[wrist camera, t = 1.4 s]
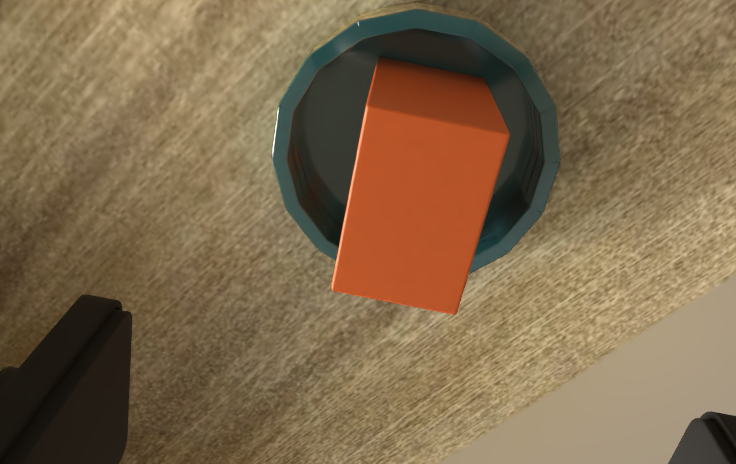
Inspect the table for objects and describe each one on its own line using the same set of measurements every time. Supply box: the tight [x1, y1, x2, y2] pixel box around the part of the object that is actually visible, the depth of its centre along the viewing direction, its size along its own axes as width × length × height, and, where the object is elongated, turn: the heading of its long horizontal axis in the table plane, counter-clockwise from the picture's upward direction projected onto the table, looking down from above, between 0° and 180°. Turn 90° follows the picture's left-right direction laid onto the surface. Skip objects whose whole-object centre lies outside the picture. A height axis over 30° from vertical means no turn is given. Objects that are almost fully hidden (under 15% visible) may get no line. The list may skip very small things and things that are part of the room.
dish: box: [272, 2, 561, 274], centre depth 24 cm, size 10×10×2 cm
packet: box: [331, 57, 510, 315], centre depth 22 cm, size 4×6×7 cm, turn 169°
